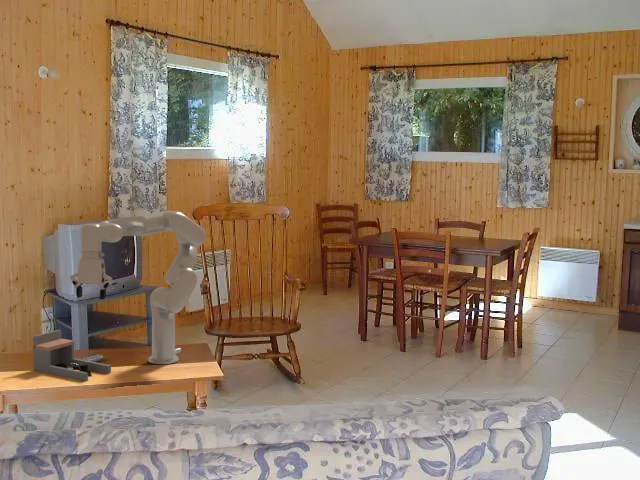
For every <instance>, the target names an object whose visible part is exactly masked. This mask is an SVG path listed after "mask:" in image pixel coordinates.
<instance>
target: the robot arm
mask: <svg viewBox="0 0 640 480" xmlns="http://www.w3.org/2000/svg"><path fill="white" fill-rule="evenodd" d="M164 232H173V233H175V239H176V242H177V244H178V245H177V246H178V250H177V253H176V255H175V258H174V259H173V261H172V263H171V265H169V268H168V269H167V271H166V273H165V277H164V280H165V283H166V284H167V285H168V286H170V287H171V288H169V287H165V286H164V287H163V286H160V287H156V288H155V289H153V291H151V294H150V299H149V303H150V309H151V356H149V357H148V359H147V360H148V361H147V362H148V363H151V364H154V365H155V364H156V365H170V364H171V365H172V364H174V363H177V362H178V361H179V356H177V354H179V353H181V352H182V348H181V347H177V348H176V317H175V315H176V314H178V313H179V312H181V311H182V310H183V309H184V307H185V306H186V305H187V302H188V301H189V299H190V297H191V295H192V293H193V292H194V290H195V288H196V287H197V284H198V283H197V282H198V275H197V273H196V271H194V269H193V267H194V266H195V264H196V261H197V258H198V247H199V246H200V247H201V246H202V245H203V244H204V243H205V242H206V240H207V233H206V231H205V229H204V228H203V227H202V226H200V225H199V223H196V222H195V221H193V220H192V219H191V218H189V217H188V216H186V215H185V214H184V213H182V212H180V211H175V210H163V211H157V212H152V213H151V212H150V213H147V214H142V215H134V216H133V215H132V216H129V217H120V218H115V219H109V220H104V221H101V222H99V223H84V224H83V225H82V226H81V238H80V239H81V244H80V245H81V247H80V249H81V253H80V254H81V257H80V258H79V259H78V260H79V261H78V267H77V272H75V273H73V274H71V275H70V276H69V279H70V280H71V283H72V284H73V285H74V288H75V289H76V290H75V291H76V294H75V295H76V299H80V298H82V297H83V286H82V285H83V284H85V285H98V286H99V288H100V290H99V300H104V299H105V298H106V296H107V289H108V287H109V286H110V285H111V284H112V282H113V277H111V276H109V275H107V274H106V266H105V265H106V264H105V259H104V258H103V257H105V252H102V243H103V242H104V243H105V242H106V243H117V242H119V241H121V240H122V238H123V237H130V236H131V237H145V236H146V237H147V236H150V235H153V234H154V235H155V234H159V233H164Z"/></svg>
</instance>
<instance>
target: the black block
mask: <svg viewBox="0 0 640 480" xmlns="http://www.w3.org/2000/svg"><path fill="white" fill-rule="evenodd" d="M78 371H81V372H86V373H88V378H89V377H93V375H92V372H91V370H89V369H88V364H87V363H79V367H78Z"/></svg>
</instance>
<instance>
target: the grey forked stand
mask: <svg viewBox="0 0 640 480" xmlns="http://www.w3.org/2000/svg"><path fill="white" fill-rule="evenodd" d="M62 332H63V331H62V329H57V330H53V331H49V332H45V333H41V334H37V335H32V337H33V338H32V339H33V340H32V342H33V343H32V344H33V347H32V348H33V371H36V372H40V373H41V372H42V373H44V374H45V373H46V374H50V375H56V376H60V377H63V378H67V379H73V380H79V381H83V382H88V381H89V377H88V373H86V372H81V371H79V370H75V369H71V368H66V367H60V366H57V365H59V364H61V365H65V366H69V367H75V368H79V365H76V364H71V363H77V364H79V363H87V364H88V370H90V371H95V372H100V373H105V374H111V373H112V366H111V364H106V363H105V364H104V363H100V362H94V361H89V360H85V359H78V358H75V340H73V339H72V340H71V339H67V338H62V337H63V333H62Z"/></svg>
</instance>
